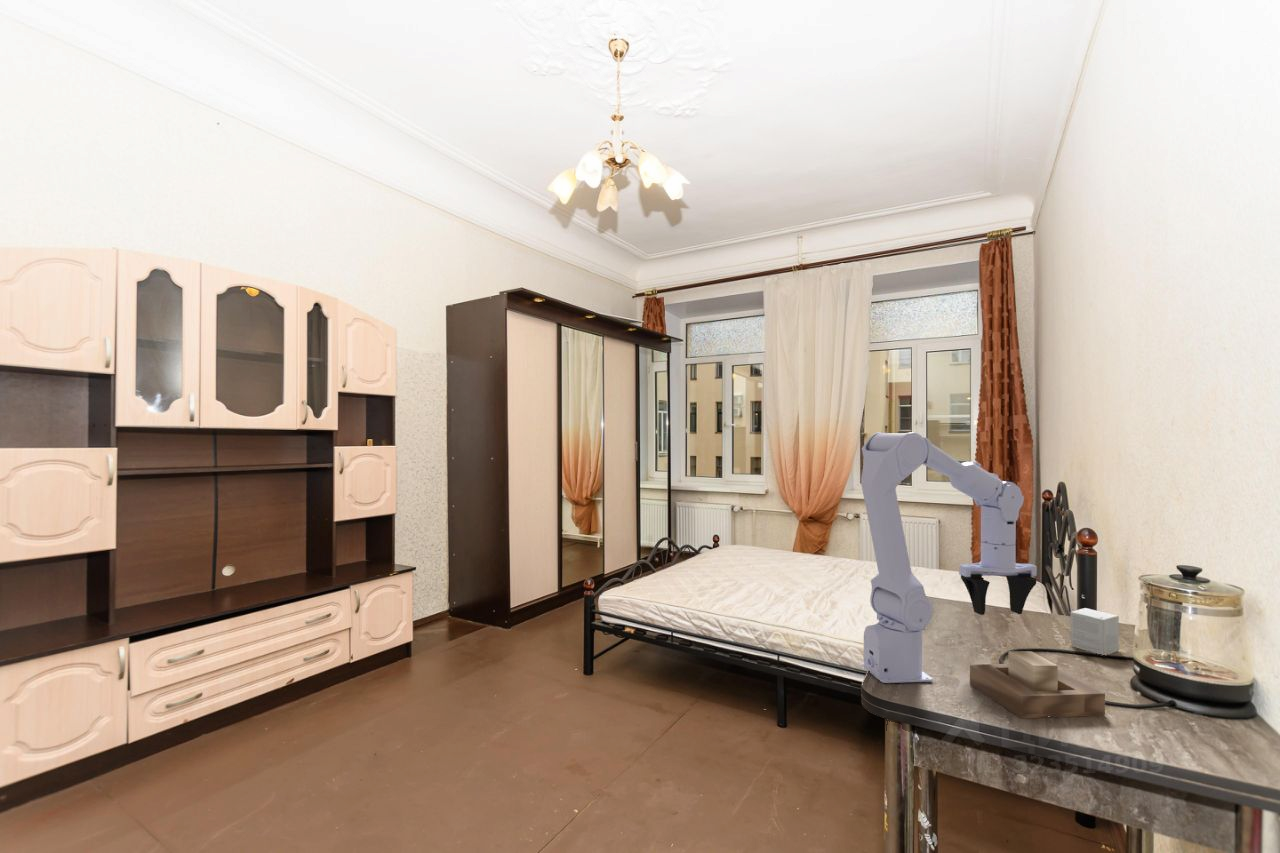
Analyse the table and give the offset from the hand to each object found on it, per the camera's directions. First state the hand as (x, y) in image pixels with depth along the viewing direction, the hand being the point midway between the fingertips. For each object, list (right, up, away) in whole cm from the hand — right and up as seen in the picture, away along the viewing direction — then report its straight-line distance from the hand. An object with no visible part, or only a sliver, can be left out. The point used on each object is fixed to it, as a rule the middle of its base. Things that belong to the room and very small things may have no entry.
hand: (997, 612), depth 110 cm
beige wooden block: (-4, -9, -15) cm, 18 cm away
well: (-4, -9, -15) cm, 18 cm away
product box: (+24, -10, +7) cm, 27 cm away
